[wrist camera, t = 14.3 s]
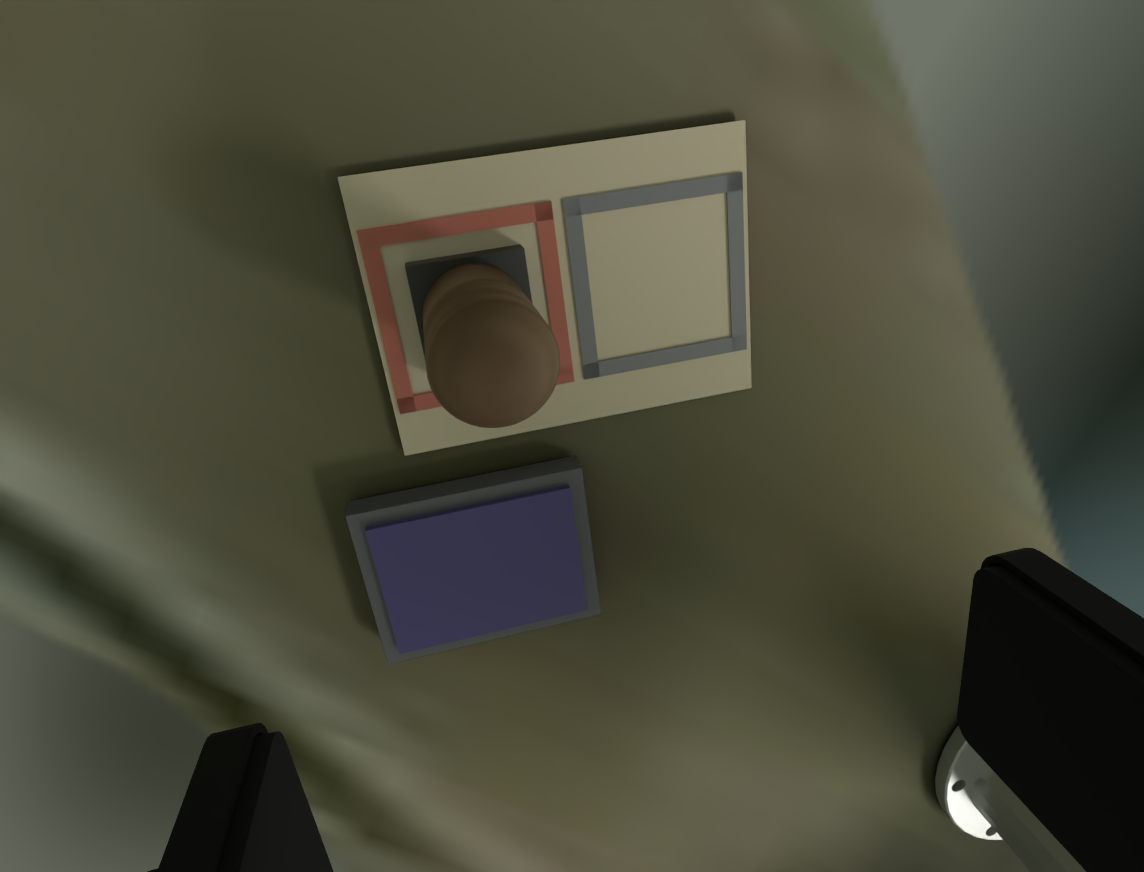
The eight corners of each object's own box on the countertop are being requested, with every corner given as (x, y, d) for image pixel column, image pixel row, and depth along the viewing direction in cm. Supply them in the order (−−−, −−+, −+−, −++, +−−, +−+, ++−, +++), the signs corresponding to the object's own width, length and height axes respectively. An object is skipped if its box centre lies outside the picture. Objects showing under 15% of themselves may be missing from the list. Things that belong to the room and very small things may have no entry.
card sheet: (742, 120, 25) (746, 120, 25) (749, 386, 29) (752, 388, 29) (337, 176, 23) (337, 177, 23) (404, 453, 27) (404, 456, 27)
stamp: (520, 244, 25) (567, 288, 17) (536, 353, 27) (587, 438, 19) (404, 262, 24) (402, 317, 17) (428, 372, 26) (436, 468, 18)
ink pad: (575, 455, 29) (583, 471, 27) (594, 597, 32) (602, 618, 30) (347, 501, 27) (344, 520, 26) (388, 645, 30) (387, 669, 29)
